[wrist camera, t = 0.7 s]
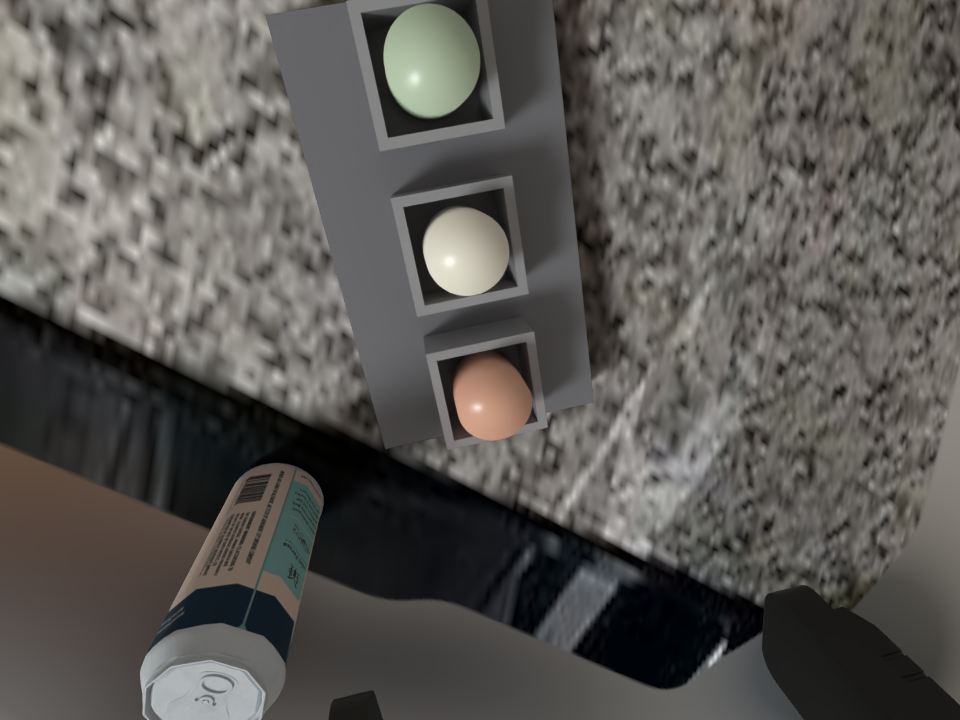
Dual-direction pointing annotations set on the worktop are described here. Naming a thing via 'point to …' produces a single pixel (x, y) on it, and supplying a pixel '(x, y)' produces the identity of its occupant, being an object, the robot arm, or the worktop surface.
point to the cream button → (465, 250)
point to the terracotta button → (490, 395)
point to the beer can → (237, 604)
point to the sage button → (431, 61)
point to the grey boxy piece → (442, 206)
